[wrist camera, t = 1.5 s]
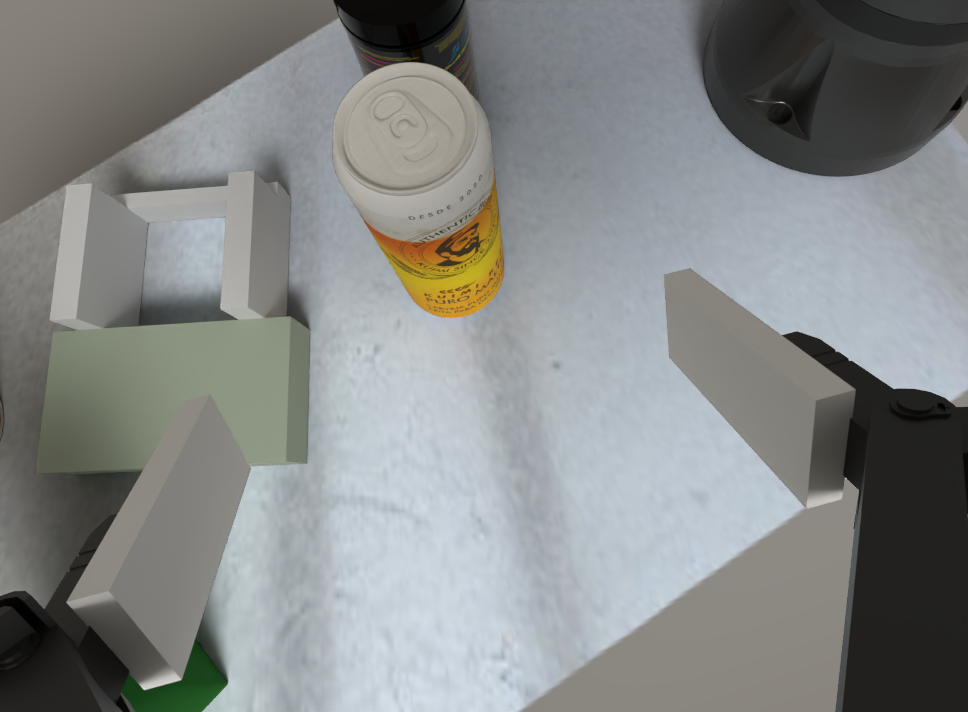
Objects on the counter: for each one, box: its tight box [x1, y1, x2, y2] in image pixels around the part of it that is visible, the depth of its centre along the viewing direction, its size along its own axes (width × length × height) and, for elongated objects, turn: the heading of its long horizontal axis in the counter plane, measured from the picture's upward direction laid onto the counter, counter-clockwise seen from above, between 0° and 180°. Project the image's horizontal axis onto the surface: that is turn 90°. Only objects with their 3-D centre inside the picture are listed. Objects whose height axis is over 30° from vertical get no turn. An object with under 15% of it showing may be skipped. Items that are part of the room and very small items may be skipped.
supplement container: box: [333, 0, 479, 101], centre depth 33 cm, size 7×7×10 cm
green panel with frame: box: [35, 170, 310, 475], centre depth 33 cm, size 14×17×5 cm
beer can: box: [332, 62, 504, 318], centre depth 28 cm, size 6×6×15 cm
